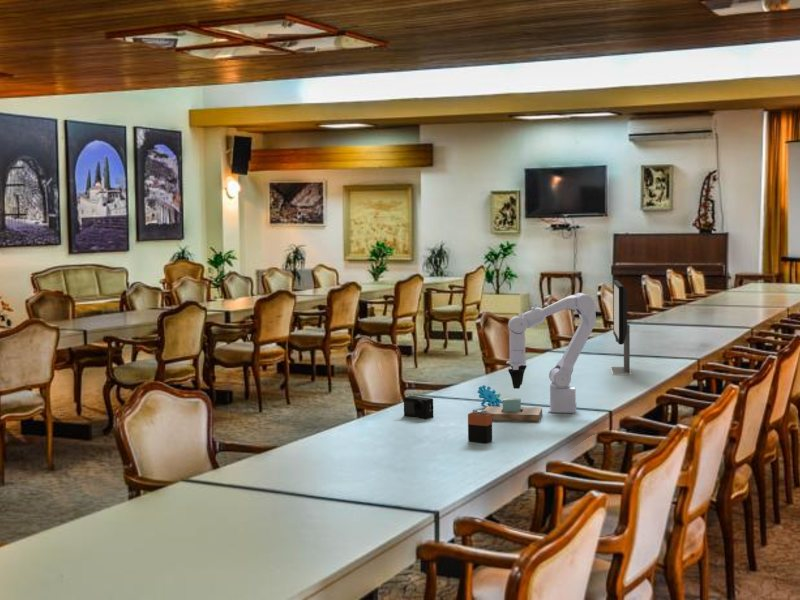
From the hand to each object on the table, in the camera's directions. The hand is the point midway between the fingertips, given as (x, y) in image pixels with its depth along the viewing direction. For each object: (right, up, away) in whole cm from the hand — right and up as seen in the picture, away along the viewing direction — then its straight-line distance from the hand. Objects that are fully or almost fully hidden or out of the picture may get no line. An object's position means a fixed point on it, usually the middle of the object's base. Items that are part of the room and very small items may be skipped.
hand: (517, 386), depth 384 cm
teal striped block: (-3, -10, -9) cm, 13 cm away
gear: (-9, -9, +15) cm, 19 cm away
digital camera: (-37, -11, -4) cm, 38 cm away
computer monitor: (+57, -1, +93) cm, 109 cm away
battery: (-17, -14, -46) cm, 51 cm away
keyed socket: (-3, -10, -9) cm, 14 cm away
